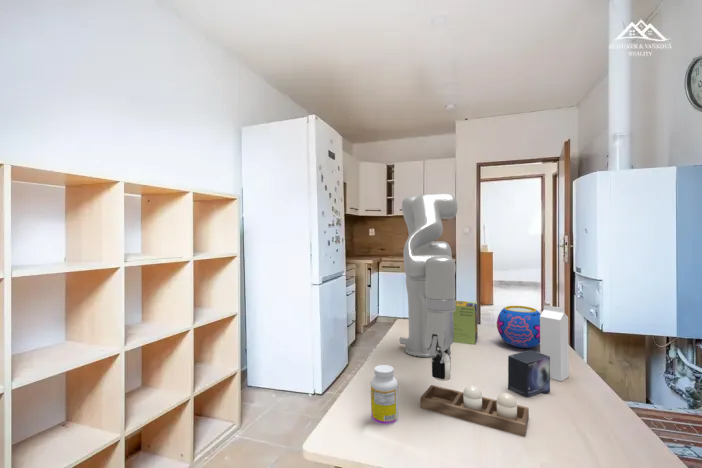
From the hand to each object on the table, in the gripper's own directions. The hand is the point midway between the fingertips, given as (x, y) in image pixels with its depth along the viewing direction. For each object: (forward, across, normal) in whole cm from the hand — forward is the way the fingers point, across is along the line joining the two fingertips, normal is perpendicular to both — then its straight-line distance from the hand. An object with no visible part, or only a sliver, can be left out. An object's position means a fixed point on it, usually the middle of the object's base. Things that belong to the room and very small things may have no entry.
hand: (441, 373), depth 88 cm
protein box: (+9, -60, -11) cm, 62 cm away
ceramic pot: (+9, -63, +13) cm, 65 cm away
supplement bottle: (+9, +13, -10) cm, 19 cm away
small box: (+9, -21, +19) cm, 30 cm away
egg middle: (+8, 0, +8) cm, 11 cm away
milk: (+9, -37, +25) cm, 46 cm away
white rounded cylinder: (+1, 0, 0) cm, 1 cm away
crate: (+9, 0, +8) cm, 12 cm away
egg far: (+8, 0, +15) cm, 18 cm away
